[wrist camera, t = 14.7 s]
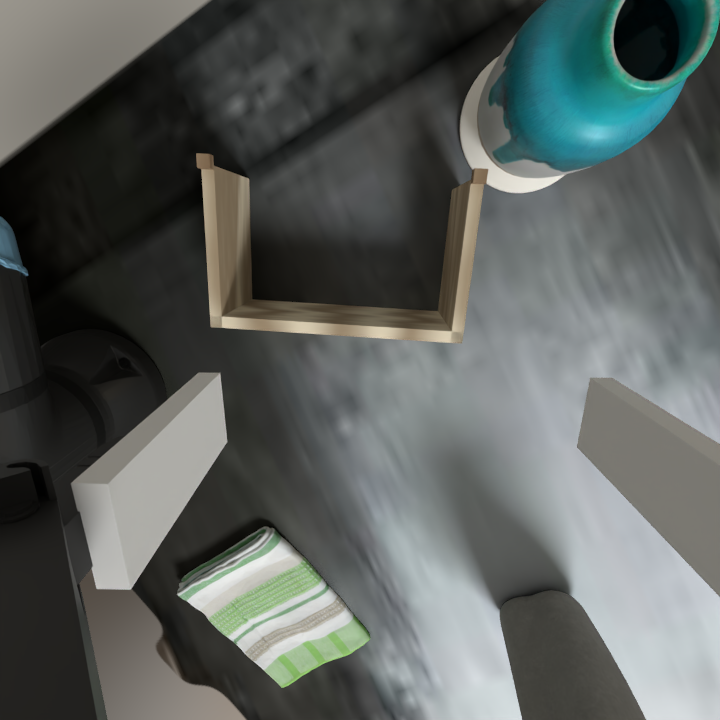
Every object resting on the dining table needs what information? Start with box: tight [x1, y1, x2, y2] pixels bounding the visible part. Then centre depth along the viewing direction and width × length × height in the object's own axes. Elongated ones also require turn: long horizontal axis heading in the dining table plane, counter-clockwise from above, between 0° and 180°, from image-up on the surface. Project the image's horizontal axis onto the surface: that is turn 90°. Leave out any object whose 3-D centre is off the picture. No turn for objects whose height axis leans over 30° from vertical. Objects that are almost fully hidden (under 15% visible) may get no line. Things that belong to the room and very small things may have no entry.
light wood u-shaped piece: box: [196, 153, 488, 343], centre depth 37 cm, size 22×14×10 cm, turn 87°
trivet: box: [459, 56, 564, 193], centre depth 38 cm, size 12×12×1 cm
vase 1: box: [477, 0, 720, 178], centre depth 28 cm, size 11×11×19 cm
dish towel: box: [177, 526, 370, 688], centre depth 56 cm, size 17×23×4 cm
